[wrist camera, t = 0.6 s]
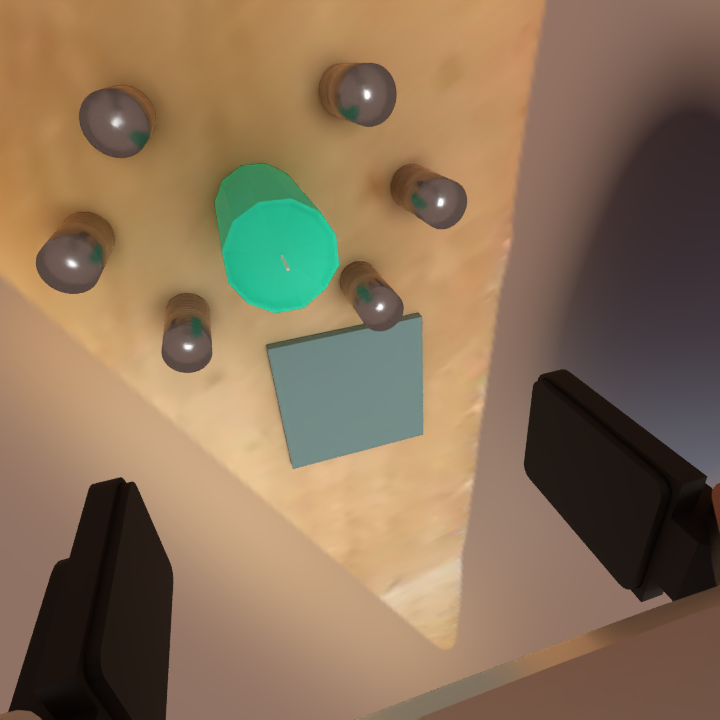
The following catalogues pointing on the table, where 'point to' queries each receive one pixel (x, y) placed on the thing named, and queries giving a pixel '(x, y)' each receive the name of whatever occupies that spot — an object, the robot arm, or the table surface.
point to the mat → (349, 389)
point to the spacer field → (190, 312)
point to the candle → (273, 239)
